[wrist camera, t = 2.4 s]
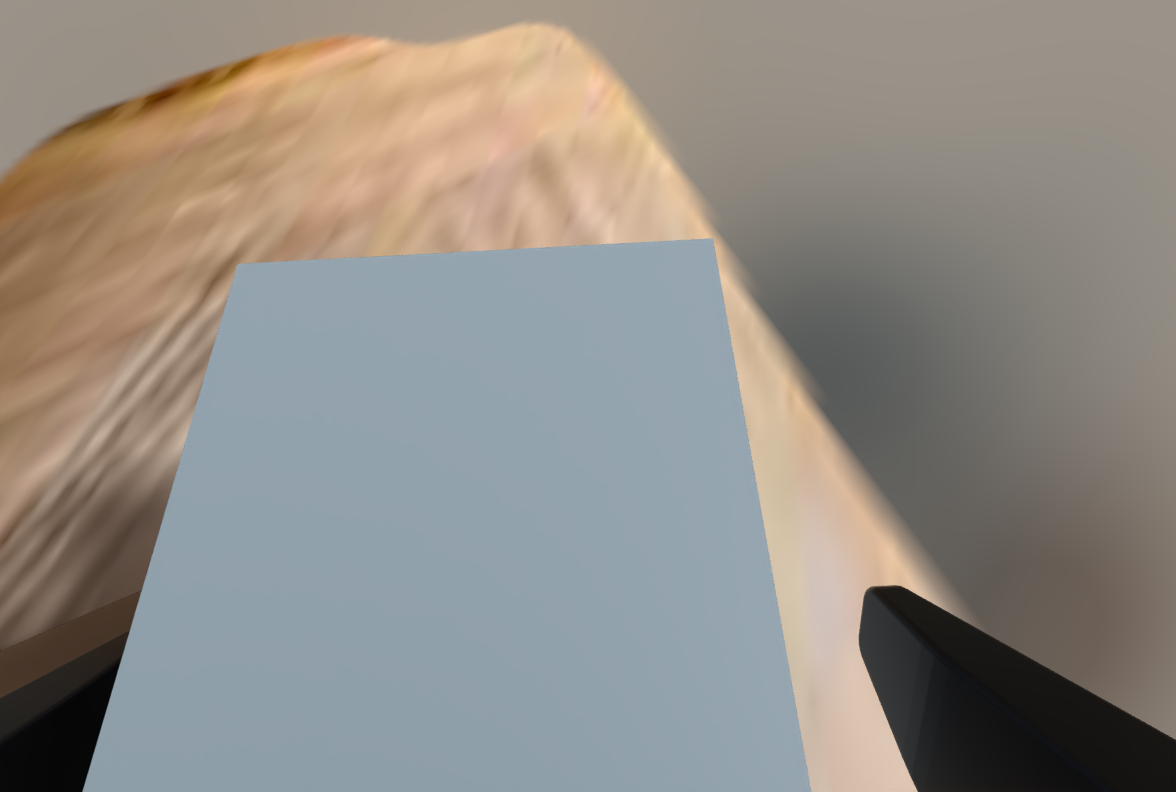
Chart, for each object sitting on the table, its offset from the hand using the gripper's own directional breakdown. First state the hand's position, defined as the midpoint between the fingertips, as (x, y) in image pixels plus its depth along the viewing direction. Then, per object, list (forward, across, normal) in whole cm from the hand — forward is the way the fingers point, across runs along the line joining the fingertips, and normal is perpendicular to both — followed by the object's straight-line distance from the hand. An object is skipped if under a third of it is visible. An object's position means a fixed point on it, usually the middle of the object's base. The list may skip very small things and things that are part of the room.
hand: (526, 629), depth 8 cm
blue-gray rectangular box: (+6, 0, +6) cm, 8 cm away
